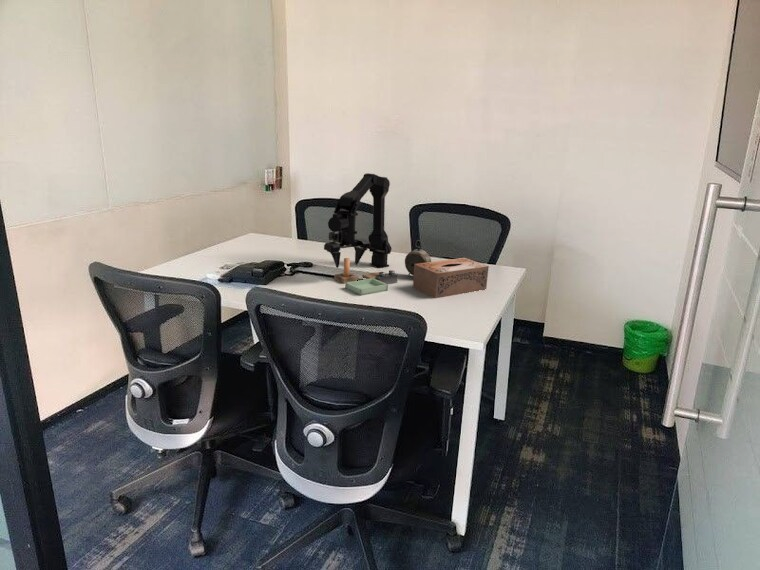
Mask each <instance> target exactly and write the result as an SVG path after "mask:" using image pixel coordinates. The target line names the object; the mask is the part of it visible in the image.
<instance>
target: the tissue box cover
mask: <svg viewBox="0 0 760 570" xmlns="http://www.w3.org/2000/svg"><path fill="white" fill-rule="evenodd" d="M489 268H490V267H489V265H486V264H483V263H480V262H478V261H475V260H472V259H469V258H467V257H460V258H452V259H443V260H437V261H431V262H427V263H419V264H414V278H413V277H412V280H413V281H412V288H413V289H415V290H417V291H419V292H421V293H423V294H425V295H428V296H429V297H431V298H434V299H440V298H446V297H451V296H452V297H453V296H457V295H463V293H464V294H470V293H475V292H474V291H476V292H480V291H479V290H482V291H486V290H487V285H488V276H489ZM485 289H486V290H485ZM469 292H470V293H469Z"/></svg>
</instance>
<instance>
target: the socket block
mask: <svg viewBox="0 0 760 570" xmlns="http://www.w3.org/2000/svg"><path fill="white" fill-rule="evenodd" d="M343 274H344V272H343V273H337V274H336V273H335V274H333V276H334V277H333V278H334V280H335V281H337V282H339V283H342V284H343V285H344V284H345V283H346V282H352V281H357V280H359V276H358V275H355V274H353V273H351V272H349V277H343Z"/></svg>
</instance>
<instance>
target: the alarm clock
mask: <svg viewBox="0 0 760 570" xmlns="http://www.w3.org/2000/svg"><path fill="white" fill-rule="evenodd" d="M418 242H420V243H421V246H417V243H418ZM423 245H424V244H423V241H422V240H420V239H418V240H416V241H415V247H416V249H414V250H412V251H410V252H408V253H407V254H406V256H405V258H404V267H405V269H406V270H407V272H408V274H407V275H408V276H410V275H412V279H413V278H414V264H419V263H427V262H432V259H431V256H430V254H429V253H428V252H427V251H426V250H424V249H421V248H422V247H423Z"/></svg>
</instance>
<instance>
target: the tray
mask: <svg viewBox="0 0 760 570" xmlns="http://www.w3.org/2000/svg"><path fill="white" fill-rule="evenodd" d="M388 288H389V284H385V283H383V282H381V281H378V280H376V279H374V278H370V279H364V280H362V279H358V281H352V282H346V283H345V290H347V291H350V292H351V293H354V294H356V295H358V296H359V297H360V296H365V295H371V294H376V293H377V294H378V293H382V292H387V291H389V290H388Z"/></svg>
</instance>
